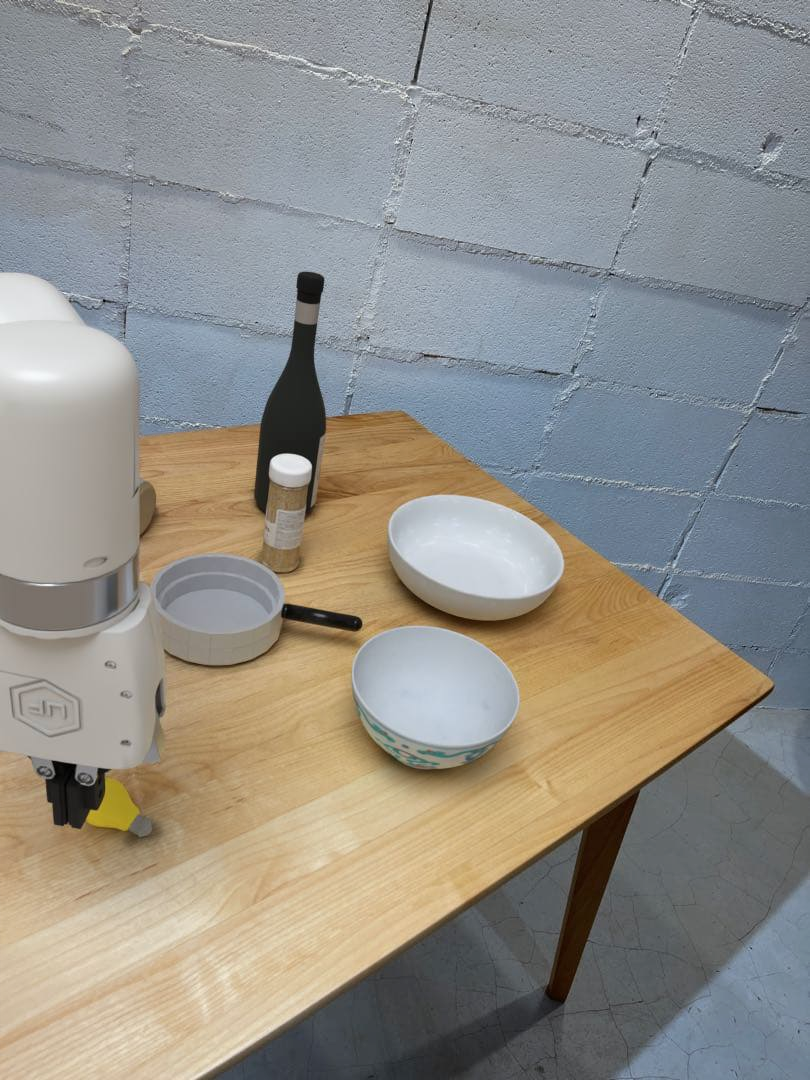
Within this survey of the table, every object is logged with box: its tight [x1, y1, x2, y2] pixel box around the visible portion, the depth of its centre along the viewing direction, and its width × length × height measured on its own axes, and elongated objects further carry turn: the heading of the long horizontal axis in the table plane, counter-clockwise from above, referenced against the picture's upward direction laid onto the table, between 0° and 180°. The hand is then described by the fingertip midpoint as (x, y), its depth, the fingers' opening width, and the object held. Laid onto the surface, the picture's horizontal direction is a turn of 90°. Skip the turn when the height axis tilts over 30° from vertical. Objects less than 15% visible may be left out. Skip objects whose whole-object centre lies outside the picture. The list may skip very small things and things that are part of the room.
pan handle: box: [281, 602, 364, 633], centre depth 83 cm, size 9×2×2 cm, turn 86°
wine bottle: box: [253, 271, 327, 516], centre depth 98 cm, size 8×8×30 cm
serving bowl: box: [386, 494, 565, 621], centre depth 96 cm, size 21×21×7 cm
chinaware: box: [350, 625, 521, 770], centre depth 73 cm, size 15×15×8 cm
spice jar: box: [260, 454, 312, 573], centre depth 92 cm, size 5×5×13 cm
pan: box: [149, 552, 286, 667], centre depth 83 cm, size 13×13×4 cm
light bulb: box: [85, 777, 153, 838], centre depth 62 cm, size 3×6×4 cm, turn 71°
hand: (77, 808), depth 51 cm, fingers closed
